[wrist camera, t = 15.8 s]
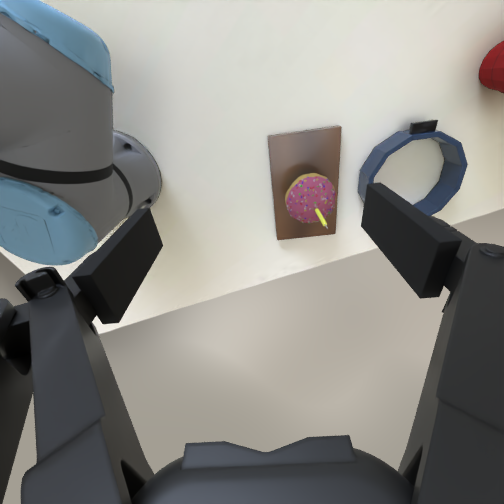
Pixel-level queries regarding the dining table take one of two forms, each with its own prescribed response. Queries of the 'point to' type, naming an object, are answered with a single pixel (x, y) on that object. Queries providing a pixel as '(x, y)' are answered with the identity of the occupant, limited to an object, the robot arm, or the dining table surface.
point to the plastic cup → (493, 69)
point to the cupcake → (310, 198)
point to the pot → (449, 175)
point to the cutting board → (300, 163)
